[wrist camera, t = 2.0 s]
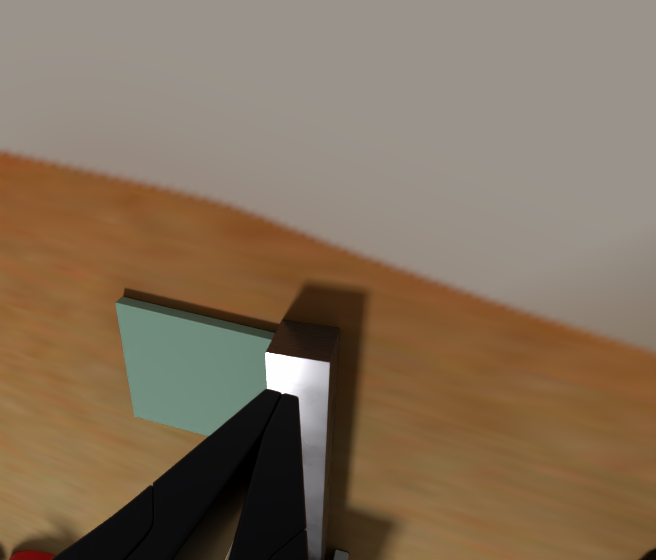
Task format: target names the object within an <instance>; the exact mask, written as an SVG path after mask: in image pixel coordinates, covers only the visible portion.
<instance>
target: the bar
mask: <svg viewBox="0 0 656 560" xmlns="http://www.w3.org/2000/svg"><path fill="white" fill-rule="evenodd" d="M339 333H340V328H337V327H330V326H324V325H317V324H310V323H303V322H297V321H290V320H283V319H282V321H281V323H280V325H279V327H278V329H277V331H276V333H275V335H274V337H273V339H272V340H271V342H270V344H269V346H268V348H267V350H266V352H265V355H266V373H267V389H272V390H276V391H279V392H281V393H282V394H283V393H287V394H291V395H295V396H298V398H299V407H300V424H301V440H302V457H303V474H304V490H305V507H306V523H307V529H306V531H307V537H308V553H309V560H324V559H325V554H326V548H327V536H328V519H329V502H330V485H331V469H332V452H333V435H334V418H335V401H336V384H337V367H338V350H339Z"/></svg>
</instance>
